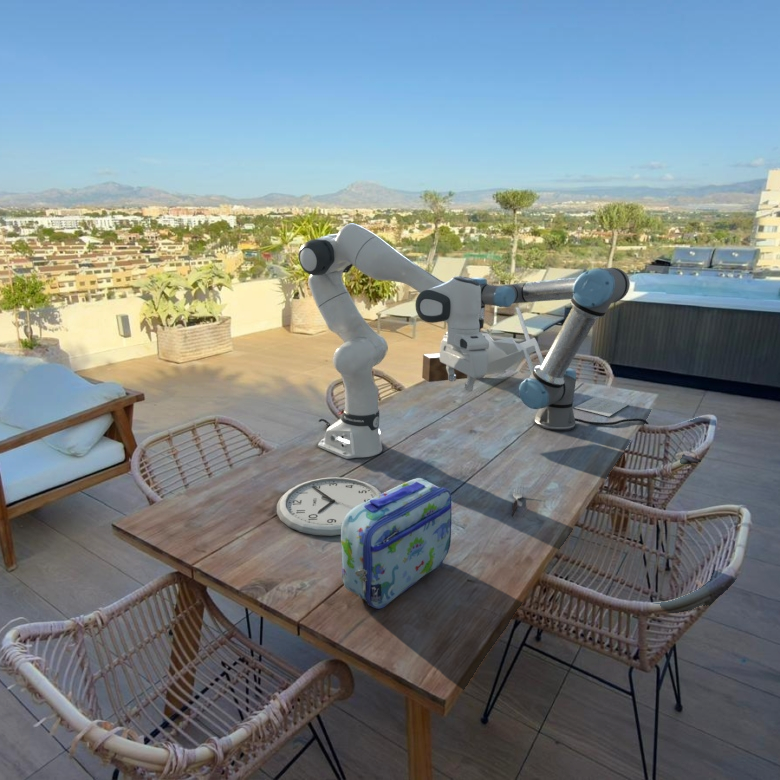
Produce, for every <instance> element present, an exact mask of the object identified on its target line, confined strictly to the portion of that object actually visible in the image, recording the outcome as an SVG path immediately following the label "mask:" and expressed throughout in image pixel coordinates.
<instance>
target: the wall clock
mask: <svg viewBox="0 0 780 780" xmlns="http://www.w3.org/2000/svg"><path fill="white" fill-rule="evenodd" d="M382 493H383V492H382V491H381V490H380V489H379V488H377V487H376V486H374V485H372V484H371V483H369V482H365V481H362V480H359V479H355V478H349V477H338V476H337V477H335V476H333V477H332V476H331V477H322V478H317V479H312V480H307V481H305V482H302V483H299V484H297V485H295V486H293V487H292V488H290V489H288V490H287V491H286V492H285V493H284V494H283V495H281V496H280V498H279V499H278V502H277V503H276V515H277V517H278V518H279V520H280V521H281V522H282V523H283V524H285V525H286V526H287V527H288V528H290V529H293V530H295V531H297V532H299V533H303V534H308V535H312V536H327V537H328V536H329V537H331V536H332V537H333V536H341V528H342V523H343V520H344V518H345V517H346V515H347V514H348V512H349V511H350V510H351V509H353V508H354V507H356V506H358V505H360V504H362V503H364V502H366V501H368V500H370V499H372V498H374V497H376V496H378V495H380V494H382Z"/></svg>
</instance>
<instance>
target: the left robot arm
mask: <svg viewBox="0 0 780 780" xmlns="http://www.w3.org/2000/svg"><path fill="white" fill-rule="evenodd" d="M297 258H298V263H299V265H300V267H301V269H302V270H303V272H305V273H306V274H308V275H309V276H308V278H307V279H308V280H307V284H308V288H309V291H310V293H311V296H312V298H313V300H314V303H315V305H316V307H317V310H318V311H319V313H320V315H321V316H322V318H323V320H324V322H325V324H326V326H327V328H328V329H329V330H330V331H331V332H332V333H334V334H336V335H337V336H338V337H339V338H340V339H341V340H342V341H343V343H342V344H341V345H340V346H339V347H337V349H336V350H335V351H334V353H333V355H332V363H333V366H334V369H335V370H336V371H337V372H338V373H339V374H340V376H341V379H342V383H343V389H344V408H343V409H341V410H340V411H338V413H337V414H338V416H340V418H339V419H338V420H336V421H335V422H333V423H332V424H330V422H329V421H327V420H326V419H324V418H320V419H319V420H318V423H320V422H324V423H325V424H326V426H325V429H326V431H325V435H324V437H323V438H322V439H321V440H320V441H319V442H318V444H317V447H318V448H320V449H322V450H324V451H327V452H329V453H331V454H334V455H336V456H338V457H341V458H343V459H346V460H348V459H349V460H350V459H351V460H352V459H356V458H370V457H374V456H377V455H379V454H381V453H382V451H383V445H382V440H381V436H380V435H381V430H380V428H379V427H380V409H379V387H378V385H377V384H376V383H375V380H374V376H373V367H376V366H378V365H379V364H381V363H382V362H383V361H384V359H385V358H386V356H387V355H388V351H389V346H388V342H387V341H386V338H384V336H382V335H380V334H379V333H377V332H376V331H375V330H374V329H373V328H372V327H371V325H370V324H369V323H368V322H367V320H366V319H365V318H364V317H363V316H362V314H361V313H360V311H359V309H358V306H357V305H356V303H355V302H354V300H353V298H352V296H351V295H350V293H349V290H348V289H347V287H346V285H345V283H344V281H343V273H347V274H348V273H349V272H350V271H351V269H352V267H354V268H355V269H357V270H358V271H359V272H360V273H362V274H364V275H365V276H366V277H369V278H371V279H373V280H376V281H381V282H383V281H384V282H395V283H396V282H397V283H401V284H405V285H407V286H409V287H410V288H412V289H414V290H415V291H416V292H418V295H417V297H416V299H415V306H414V308H415V311H416V314H417V316H418V317H419V318H420V319H421V320H422V321H423V322H425V323H429V324H436V323H440V322H444V323H446V324H447V326H446V329H447V330H446V332H445V333H444V334H443V337H442V339H441V341H440V346H439V353H440V354H439V359H440V362H442V363H444V364H446V369H447V372H448V380H447V381H449V382H452V383H453V382H456V381H457V379H456V375H455V373H454V369H456V370H458V371H460V372H462V373H464V374H466V375H467V378H466V379H467V381H466V382H465V383H464V389H465V390H466V391H469V392H470V391H471V392H472V391H473V390H474V384H475V382H476V381H477V379H481V378H484V377H486V376H487V375H486V372H487V362H488V354H487V351H486V349H488V348H489V341H488V340H487V339H486V338H485V337H484V336H483V335H482V332H481V330H480V324H479V315H480V313H481V288H480V284H479V283H478V282H477V281H476V280H474V279H472V278H473V277H467V276H459V275H457V276H454V277H452V278H451V279H450V280H448V281H443V280H441V279H439V278H438V277H436V276H435V275H433V274H432V273H430V272H429V271H427V270H425V269H424V268H423V267H421V266H419V265H418V264H416V263H415V262H413V261H411V260H410V259H408V258H407V257H406V256H404V255H403V254H402V253H400V252H399V251H397V249H395V248H394V247H392V246H391V245H390V244H389V243H387V242H386V241H385V240H383V239H382V238H381V237H379V236H378V235H377V234H375V233H373V232H372V231H370V230H369V229H367V228H365V227H363V226H361V225H359V224H356V223H348V224H345V225H344V226H342V227H341V228H340V229H339V231H338V233H331V234H326V235H324V236H321V237H317V238H313V239H312V238H311V239H309V240H307V241H306V242H305V243H303V244H301V246H300V247H299V250H298V257H297ZM479 331H480V332H479ZM328 424H329V425H328Z"/></svg>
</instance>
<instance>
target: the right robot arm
mask: <svg viewBox="0 0 780 780" xmlns="http://www.w3.org/2000/svg"><path fill="white" fill-rule="evenodd" d="M471 278H472V279H474V280H476V281H477V282H478V283H479V284H480V288H481V313H480V315H479V324H480V331H479V332H481V331H482V329H483V328H484V325H485V323H484V322H485V319H484V318H485V313H486V312H485V309H486V306H487V305H488V306H494V307H499V308H510V307H511V306H512V305H515V304H524V303H534V302H536V303H537V302H549V301H564V300H565V301H567V300H570V304H571V309H570V310H569V313H568V315H567V316H566V318H565V320H564V322H563V324H562V326H561V327H560V329H559V332H558V333H557V335H556V336H555V338H554V340H553V341H552V344H551V346H550V348H549V350H548V352H546V355H545V357H544V358H543V360H544V361H543V362H542V364H538V365H536V366H535V367H533V368H534V370H533V372H532V374H531V373H530V375H529V377H528V378H525V379H524V380H523V381H521V383H520V384H519V387H518V394H519V395H518V396H519V398H520V400H521V402H522V403H523V404H524V406H526V407H527V408H530V409H531V410H537V411H536V413H535V417H534V424H535V425H536V426H537V427H539V428H542V429H544V430H549V431H556V432H567V431H572V430H574V429H575V428H576V422H579V423H582V424H588V425H594V426H595V425H597V426H612V425H613V426H614V425H617V424H621V423H626V422H643V423H644V424H645V425H649V424H650V423H649V422H648V421H647V420H646V419H643V418H625V419H620V420H616V421H609V422H603V421H602V422H600V421H599V422H598V421H588V420H584V419H580V418H575V417H576V416H575V413H574V407H573V405H574V398H575V391H576V383H577V372H576V370H575V369H573V368H571V367H570V365H571V364H572V362H573V360H574V359H575V356H577V354H578V351H579V350H580V348H581V346H582V345H583V343H584V341H585V340H586V337H587V336H588V334H589V333H590V331H591V329H592V327H593V326H594V324H595V322H596V321H597V319H601V318H604V316H605V315H606V313H607V311H608V309H610V307H611V304H614V303H617V302H620V301H621V300H623V299H624V298H625V297H626V296H627V294H628V293H629V290H630V287H631V282H630V278H629V276H628V274H627V272H625V271H624V270H622V269H620V268H618V267H606V268H601V267H599V268H598V267H597V268H596V267H595V268H592V269H589V270H586V271H584V272H582V273H581V274H580V275H579V276H577V277H567V278H557V279H547V280H539V281H529V282H518V283H511V284H501V285H497V284H496V285H495V284H488V280H487V278H484V277H471ZM484 337H485V336H484Z"/></svg>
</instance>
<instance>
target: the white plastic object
mask: <svg viewBox="0 0 780 780" xmlns="http://www.w3.org/2000/svg"><path fill="white" fill-rule="evenodd" d="M515 311H516V314H517V317H518V320H519V323H520V326H521V329H522V332H523V336H524V338H525V341H522V342H519V343H518V342H516V340H515V339H514V337H513V336H510V337H505V338H501V339H497V340H494V339H493V338H492V337H491V335H490V334H489V333H487V332H486V333H485V332H483V333H482V332H481V333H482V335H483V336H485V338H486V339H487V340H488V341H489V348H488V349H486V351H487V354H488V362H487V372H486V375H485V376H490V375H496V376H500V375H502V374H505V373H506V372H507V370H508V369H509V368H511V367H512V366H513V365H515V364H517V363H518V362H520V361H521V360H522V359H523V358H524V357H525V360H526V363H527V367H528V370H529V372H530V375H531V374H532V372H533V370H534V368H535V367H534V365H533V361H532V359H531V356H530V354H533V353H535V352H536V355H537V359H538V362H539V365H541V364H542V362H543V361H544V358H543V355H542V351H541V348H540V345H539V343H538V341H537V339H536V338H535V337H532V338H531V337H530V334H529V332H528V328H527V325H526V322H525V320H524V315H523V313H522V311H521V310H520V307H519V306H517V307H515Z"/></svg>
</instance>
